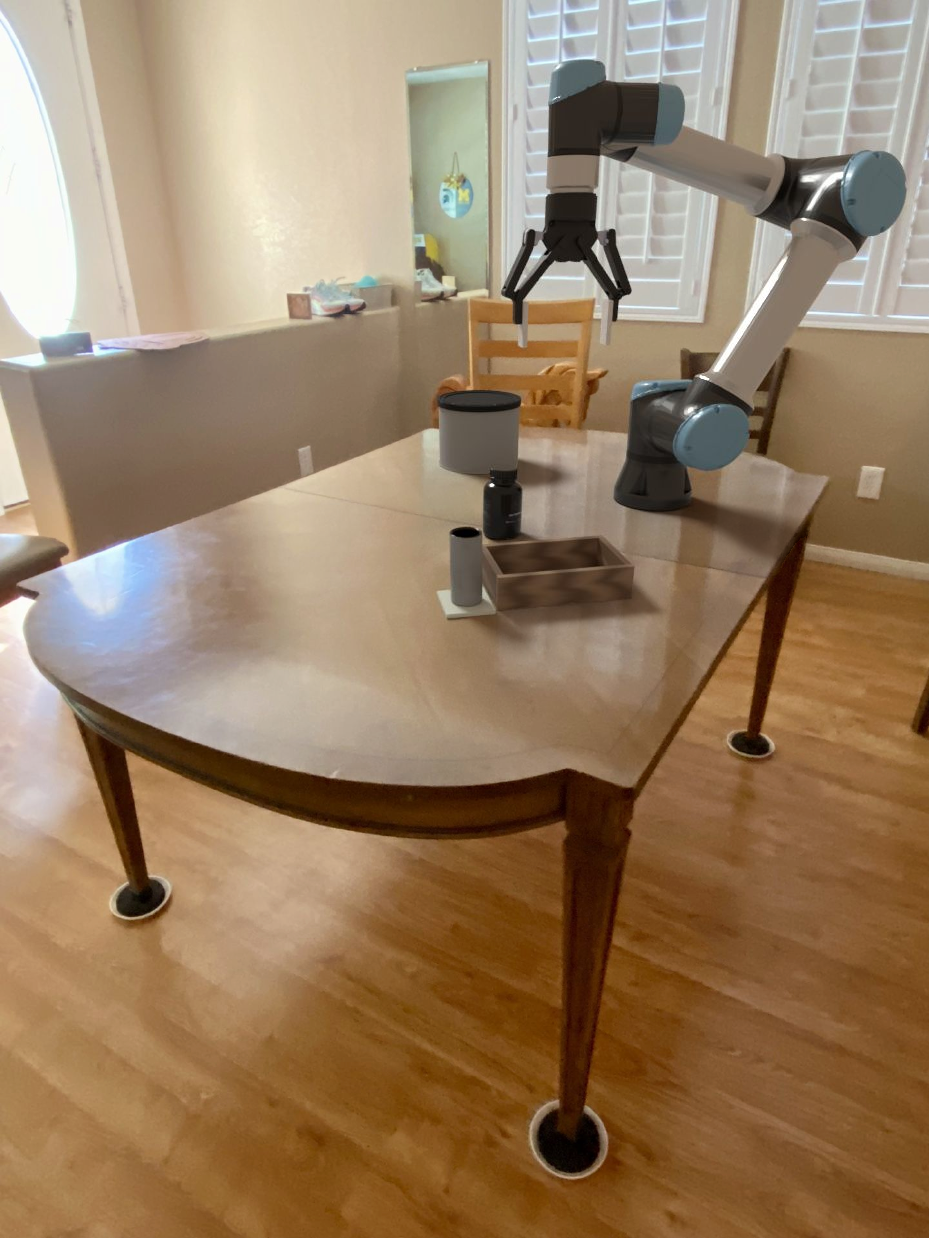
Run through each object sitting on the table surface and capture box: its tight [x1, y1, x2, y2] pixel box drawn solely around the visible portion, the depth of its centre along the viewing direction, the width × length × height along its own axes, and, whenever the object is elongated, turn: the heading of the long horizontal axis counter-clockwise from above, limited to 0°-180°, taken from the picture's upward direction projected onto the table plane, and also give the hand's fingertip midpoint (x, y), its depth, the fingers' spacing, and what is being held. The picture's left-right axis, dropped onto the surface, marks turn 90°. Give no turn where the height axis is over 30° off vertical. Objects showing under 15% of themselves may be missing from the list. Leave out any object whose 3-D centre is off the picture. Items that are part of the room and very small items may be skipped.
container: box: [436, 389, 522, 475], centre depth 174 cm, size 19×19×15 cm
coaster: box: [436, 586, 497, 619], centre depth 109 cm, size 7×8×1 cm
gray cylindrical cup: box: [448, 526, 483, 606], centre depth 107 cm, size 4×4×10 cm
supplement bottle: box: [482, 464, 524, 541], centre depth 133 cm, size 7×7×12 cm
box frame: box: [482, 534, 635, 611], centre depth 114 cm, size 20×13×5 cm, turn 101°
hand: (564, 345), depth 121 cm, fingers open, 13 cm apart
